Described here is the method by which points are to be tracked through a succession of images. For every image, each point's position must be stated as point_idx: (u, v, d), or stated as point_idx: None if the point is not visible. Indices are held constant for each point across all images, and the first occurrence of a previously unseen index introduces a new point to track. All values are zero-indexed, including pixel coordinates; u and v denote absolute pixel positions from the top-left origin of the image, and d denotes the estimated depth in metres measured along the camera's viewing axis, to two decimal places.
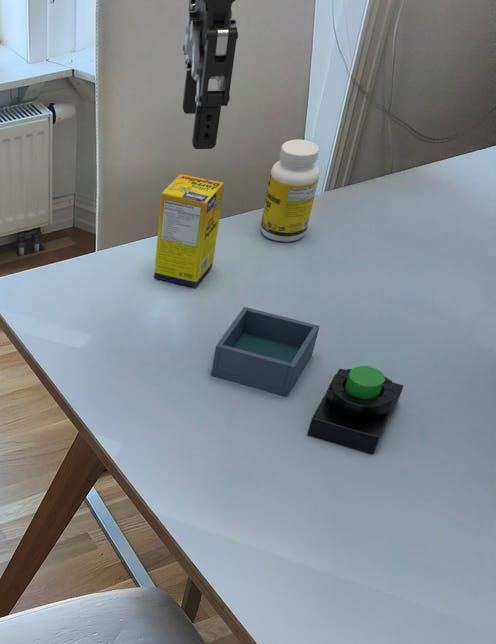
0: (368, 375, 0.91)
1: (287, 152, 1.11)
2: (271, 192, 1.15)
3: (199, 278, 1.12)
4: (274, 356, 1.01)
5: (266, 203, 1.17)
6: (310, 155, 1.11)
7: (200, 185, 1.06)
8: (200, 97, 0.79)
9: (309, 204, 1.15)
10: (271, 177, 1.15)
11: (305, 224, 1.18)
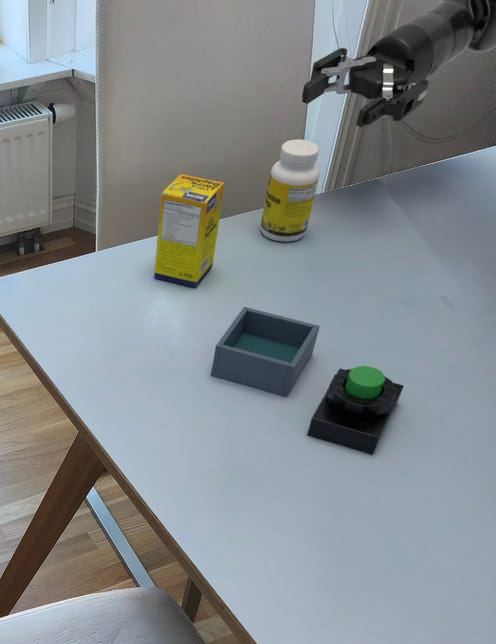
0: (368, 375, 0.91)
1: (287, 152, 1.11)
2: (271, 192, 1.15)
3: (199, 278, 1.12)
4: (274, 356, 1.01)
5: (266, 203, 1.17)
6: (310, 155, 1.11)
7: (200, 185, 1.06)
8: None
9: (309, 204, 1.15)
10: (271, 177, 1.15)
11: (305, 224, 1.18)
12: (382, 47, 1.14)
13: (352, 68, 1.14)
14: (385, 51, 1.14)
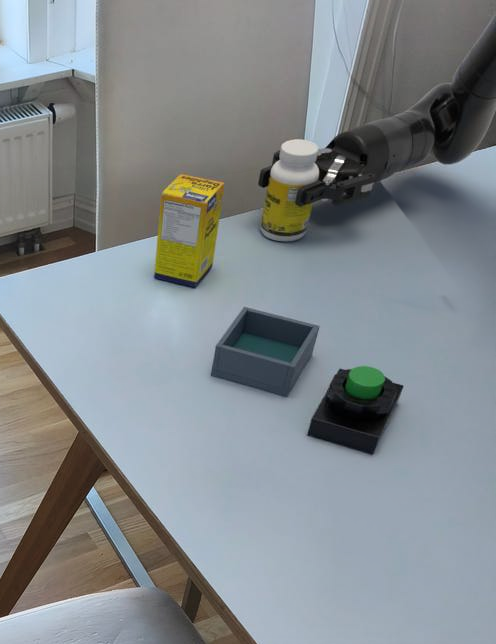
0: (368, 375, 0.91)
1: (286, 152, 1.11)
2: (271, 192, 1.15)
3: (199, 278, 1.12)
4: (274, 356, 1.01)
5: (266, 203, 1.17)
6: (310, 155, 1.11)
7: (200, 185, 1.06)
8: None
9: (309, 204, 1.15)
10: (271, 177, 1.15)
11: (305, 224, 1.18)
12: (339, 141, 1.18)
13: None
14: (342, 145, 1.18)
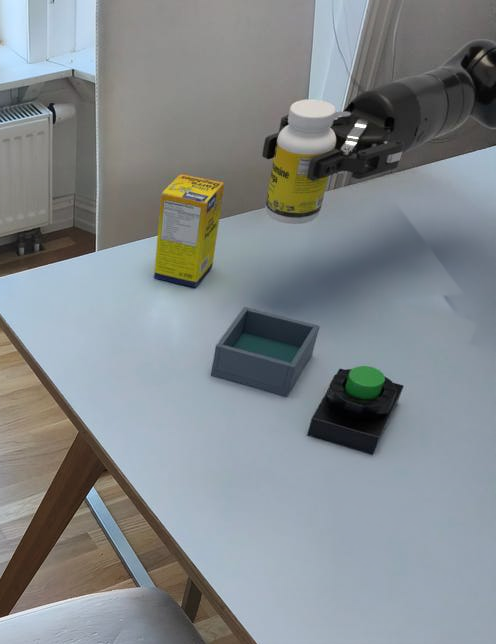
0: (368, 375, 0.91)
1: (297, 114, 0.92)
2: (277, 163, 0.96)
3: (199, 278, 1.12)
4: (274, 356, 1.01)
5: (272, 178, 0.98)
6: (325, 117, 0.91)
7: (200, 185, 1.06)
8: None
9: (324, 178, 0.96)
10: (277, 146, 0.95)
11: (319, 202, 0.98)
12: (360, 103, 0.98)
13: None
14: (363, 108, 0.98)
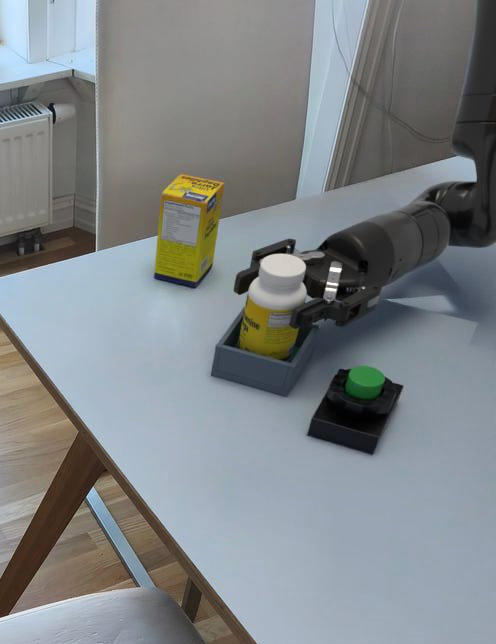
0: (368, 375, 0.91)
1: (267, 272, 0.91)
2: (248, 314, 0.96)
3: (199, 278, 1.12)
4: None
5: (243, 326, 0.97)
6: (295, 276, 0.91)
7: (200, 185, 1.06)
8: None
9: (294, 329, 0.96)
10: (248, 297, 0.95)
11: (290, 350, 0.98)
12: (334, 243, 0.97)
13: None
14: (337, 248, 0.97)
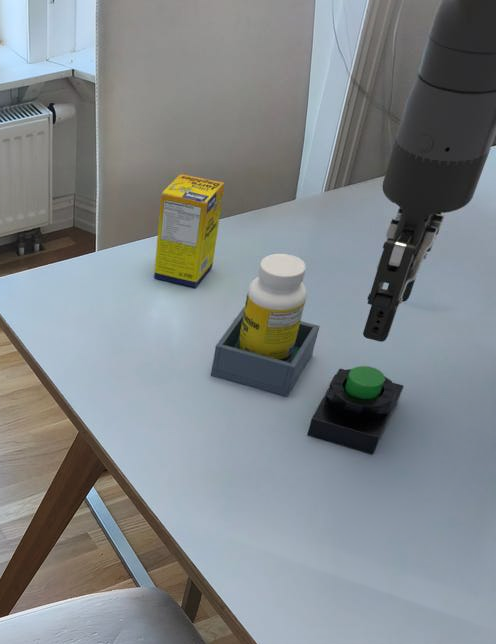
0: (368, 375, 0.91)
1: (267, 272, 0.91)
2: (248, 314, 0.96)
3: (199, 278, 1.12)
4: None
5: (243, 326, 0.97)
6: (295, 276, 0.91)
7: (200, 185, 1.06)
8: (369, 296, 0.79)
9: (294, 329, 0.96)
10: (248, 298, 0.95)
11: (290, 350, 0.98)
12: None
13: None
14: None
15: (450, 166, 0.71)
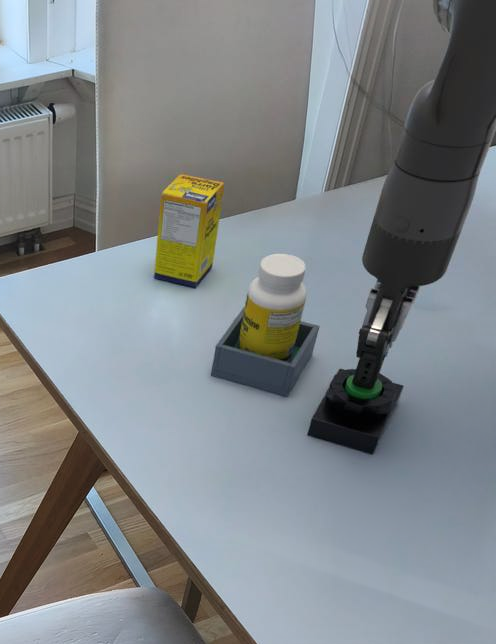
0: None
1: (267, 272, 0.91)
2: (248, 314, 0.96)
3: (199, 278, 1.12)
4: None
5: (243, 326, 0.97)
6: (295, 276, 0.91)
7: (200, 185, 1.06)
8: (357, 352, 0.86)
9: (294, 329, 0.96)
10: (248, 298, 0.95)
11: (290, 350, 0.98)
12: None
13: None
14: None
15: (425, 245, 0.76)
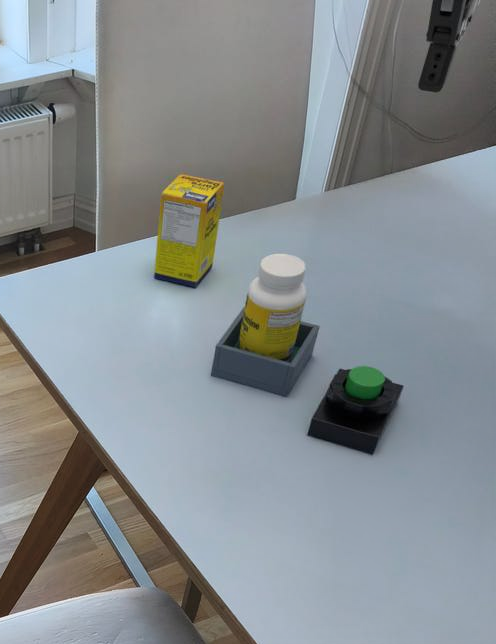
0: (368, 375, 0.91)
1: (267, 272, 0.91)
2: (248, 314, 0.96)
3: (199, 278, 1.12)
4: None
5: (243, 326, 0.97)
6: (295, 276, 0.91)
7: (200, 185, 1.06)
8: None
9: (294, 329, 0.96)
10: (248, 298, 0.95)
11: (290, 350, 0.98)
12: None
13: None
14: None
15: None
